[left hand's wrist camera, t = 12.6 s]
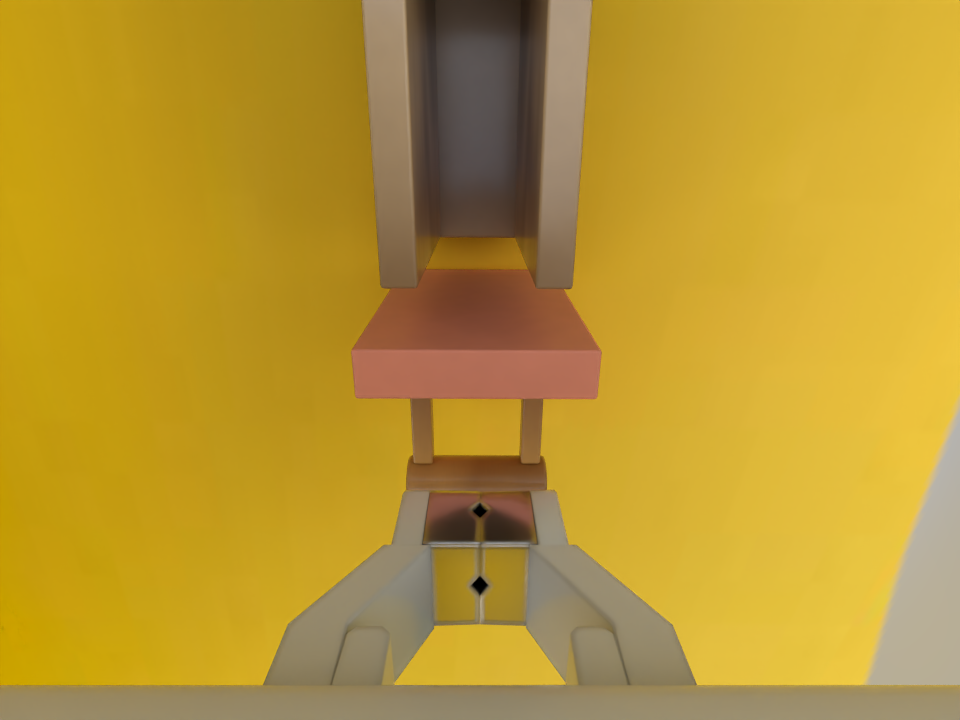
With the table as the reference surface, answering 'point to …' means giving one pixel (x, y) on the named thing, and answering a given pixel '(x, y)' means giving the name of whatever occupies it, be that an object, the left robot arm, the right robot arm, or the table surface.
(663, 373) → the table surface
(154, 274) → the table surface
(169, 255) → the table surface
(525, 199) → the drawer
